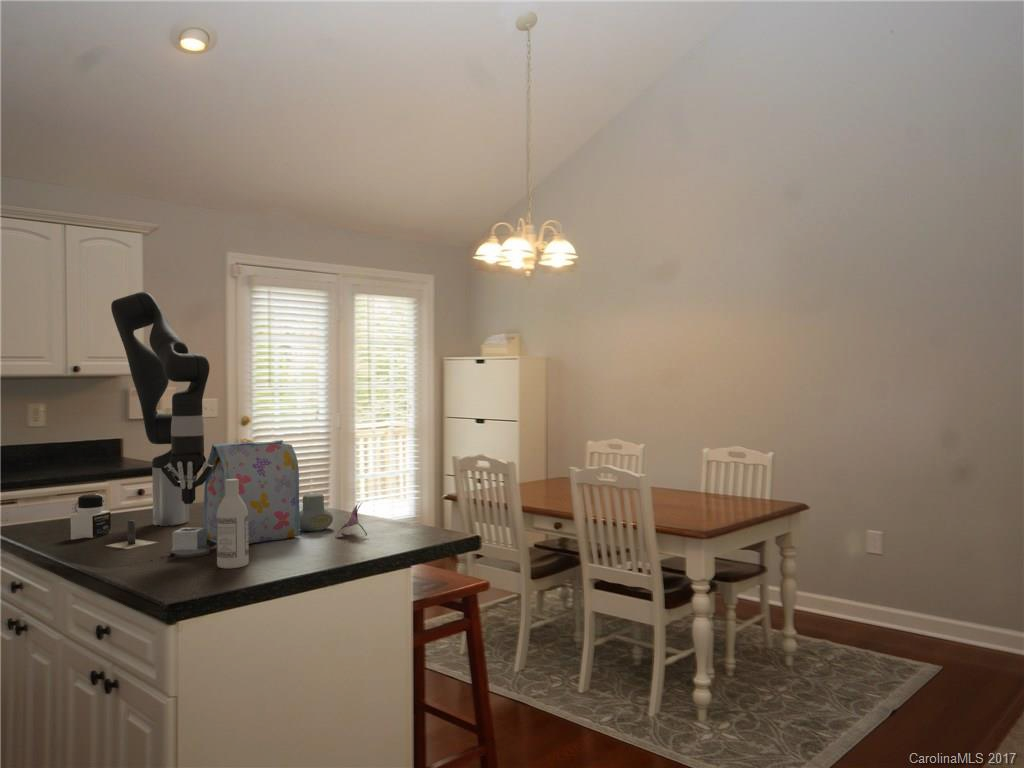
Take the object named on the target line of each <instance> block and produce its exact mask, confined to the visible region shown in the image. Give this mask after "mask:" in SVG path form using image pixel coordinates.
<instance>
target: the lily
mask: <svg viewBox="0 0 1024 768" xmlns="http://www.w3.org/2000/svg"><path fill="white" fill-rule="evenodd" d="M359 502H360V501H358V502H357V504H356V505H355V507H354V508H353V509H352V512H351V514H350V515H348V514H346V515H345V518H347V521H346V522H347V523H344V525H343V526H341V528H340V529H339V531H338V532H337V534H336V536H335V537H337V536H338V534H339V533H340V532H341V533H343V532H344V531H345V529H346V528H348V527H351V526H354V525H358V526H359V527H360V528H361V529H362V530H363V532H364V534H365V535H366V536H368V533H367V532H366V530H365V528H364V527H363V526H362V525H361V524H360V523H359V519H358V518H359V517H358V512H359V508H360V507H361V505H362V504H363V502H361V503H360V504H359Z"/></svg>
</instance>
